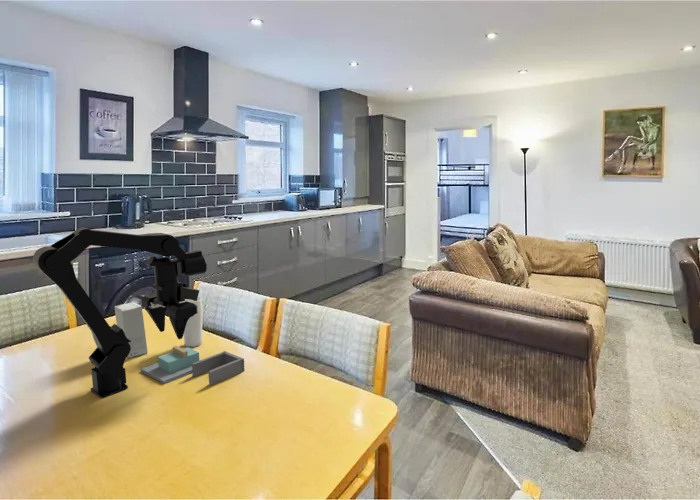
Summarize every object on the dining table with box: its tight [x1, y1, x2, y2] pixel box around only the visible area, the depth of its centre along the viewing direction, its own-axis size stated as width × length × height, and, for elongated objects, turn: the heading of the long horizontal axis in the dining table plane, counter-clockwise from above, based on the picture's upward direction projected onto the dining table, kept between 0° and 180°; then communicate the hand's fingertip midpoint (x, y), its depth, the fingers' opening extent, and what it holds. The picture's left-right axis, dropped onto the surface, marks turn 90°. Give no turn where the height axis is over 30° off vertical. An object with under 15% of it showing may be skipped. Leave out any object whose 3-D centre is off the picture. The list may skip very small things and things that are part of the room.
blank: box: [157, 345, 200, 373], centre depth 120 cm, size 9×6×4 cm, turn 140°
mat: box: [140, 362, 192, 385], centre depth 119 cm, size 12×12×1 cm
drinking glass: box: [179, 296, 204, 348], centre depth 136 cm, size 7×7×15 cm
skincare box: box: [114, 301, 149, 359], centre depth 130 cm, size 8×6×15 cm
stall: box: [191, 350, 245, 386], centre depth 117 cm, size 11×9×4 cm
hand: (171, 335), depth 117 cm, fingers open, 9 cm apart
